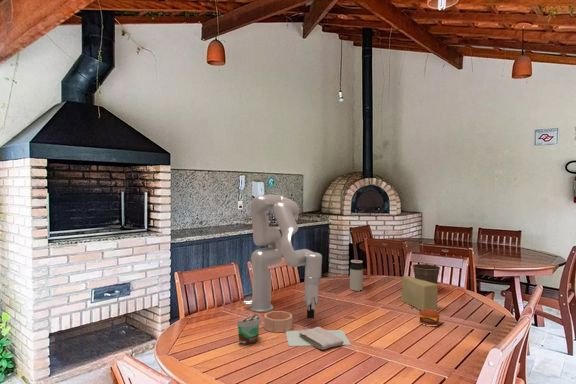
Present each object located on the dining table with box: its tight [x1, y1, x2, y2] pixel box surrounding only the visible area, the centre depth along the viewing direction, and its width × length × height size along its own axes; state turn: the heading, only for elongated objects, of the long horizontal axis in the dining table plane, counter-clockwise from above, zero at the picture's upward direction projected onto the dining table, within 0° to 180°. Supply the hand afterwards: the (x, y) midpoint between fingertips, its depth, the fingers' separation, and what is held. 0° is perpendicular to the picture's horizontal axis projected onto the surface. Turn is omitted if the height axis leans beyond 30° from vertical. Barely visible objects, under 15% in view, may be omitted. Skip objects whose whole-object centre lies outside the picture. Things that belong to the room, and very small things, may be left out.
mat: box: [285, 329, 352, 347], centre depth 173 cm, size 26×16×1 cm, turn 95°
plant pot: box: [412, 263, 441, 285], centre depth 247 cm, size 16×16×16 cm
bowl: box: [263, 310, 293, 334], centre depth 184 cm, size 13×13×6 cm
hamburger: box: [417, 309, 441, 325], centre depth 193 cm, size 9×10×7 cm
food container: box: [236, 313, 262, 346], centre depth 167 cm, size 12×6×10 cm, turn 148°
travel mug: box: [349, 259, 364, 292], centre depth 250 cm, size 8×8×18 cm
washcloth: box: [299, 326, 344, 350], centre depth 169 cm, size 12×18×3 cm, turn 34°
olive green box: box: [401, 275, 439, 311], centre depth 219 cm, size 22×10×15 cm, turn 25°
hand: (310, 317), depth 187 cm, fingers closed
